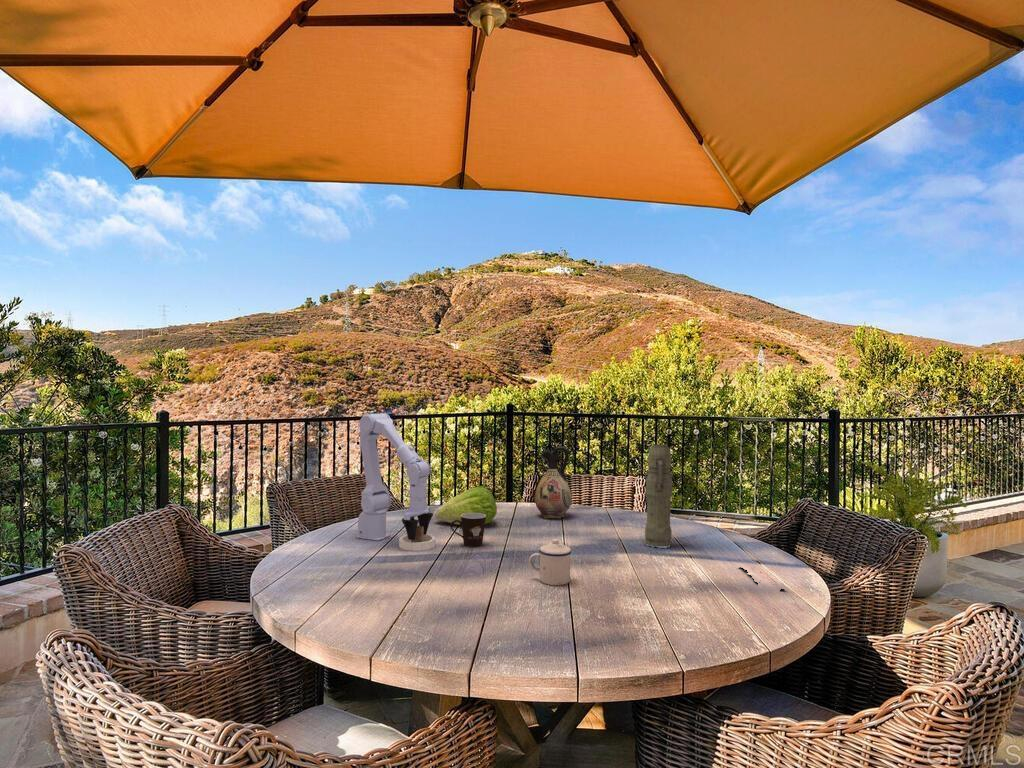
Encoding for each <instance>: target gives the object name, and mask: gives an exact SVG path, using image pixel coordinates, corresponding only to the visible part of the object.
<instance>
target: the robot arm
mask: <svg viewBox="0 0 1024 768" xmlns="http://www.w3.org/2000/svg"><path fill="white" fill-rule="evenodd" d="M358 424H359V432H360V433H359V440H360V441H359V442H360V448H361V449H360V450H361V456H362V457H361V458H362V462H363V463H362V464H363V469H364V470H363V471H364V478H365V485H366V486H365V487H364V489H363V490H362V491H361V501H360V507H361V509H362V512H360V513H359V515H358V519H357V535H356V536H355V537H356V538H358V539H364V540H371V541H381V540H383V539H386V538H388V537H391V536H392V534H391V533H387V512H388V510H389V508H390V506H391V505H392V497H391V495H390V493H389V490H388V487H387V486H385V485H384V484H383V482H382V481H383V480H382V475H381V474H382V473H381V468H380V467H381V466H380V459H379V454H378V453H379V452H378V447H377V446H378V445H377V439H379V437H380V436H381V435H383V436H384V437H385V438H386V439H387V441H389V442H390V444H391V445H392V446H393V447H394V449H395V450H396V457H397V458H398V459H399V461H401V463H402V464H403V466H404V467H405V468H406V470H405V471H406V476H407V478H408V483H409V505H408V506H409V509H408V510H407V511H406V512H405V513H403V517H402V518H401V522H402V524H403V525H404V527H405V531H406V535H407V536H408V539H409V540H415V535H416V528H417V526H424V535H426V534H427V533H428V529H429V525H430V522H431V520H432V518H433V517H434V513H433V512H432V506H431V505H427V500H428V499H427V496H428V494H427V493H428V492H427V491H428V489H427V488H428V485H427V484H428V477H429V476H430V474H431V465H430V463H429V461H427V460H424V459H422V458H421V457H420V455H418V453H417V452H416V451H415V449H414V448H415V447H413V445H412V444H406V443H405V441H404V439H403V438H402V437H401V435H400V434H399V432H398V430H397V429H396V428H395V426H394V421H393V419H392V418H391V417H390V414H388V413H387V412H382V413H365V414H363V415H362V417H361V418H360V420H359V421H358ZM416 517H417V519H416Z"/></svg>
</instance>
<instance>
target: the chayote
mask: <svg viewBox="0 0 1024 768" xmlns="http://www.w3.org/2000/svg"><path fill="white" fill-rule="evenodd" d="M495 499H496V498H495V497H494V496H493V494H492V493H491V491H490V489H488V488H485V487H483V486H482V485H480V486H474V487H472V488H469V489H466V490H464V491H463V492H461V493H459V494H458V495H456V496H454V497H451V498H449V499H448V500H447V501H446V502H445V503H443V504H442V505H441V506H440V507H439V506H438V508H436V509H435V510H434V513H433V515H434V517H435V519H436V521H438V522H446V523H449V524H451V523H452V522H453V521H455V520H459V521H461V515H462V514H466V513H481V514H485V515H486V520H485V525H487V524H490V523H491V522H492V521H493V520H494V518H495V517H496V515H497V512H498V508H497V503H496V500H495ZM453 525H457V526H461V524H460V523H459V522H455V523H453Z"/></svg>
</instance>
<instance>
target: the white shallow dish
mask: <svg viewBox="0 0 1024 768" xmlns="http://www.w3.org/2000/svg"><path fill="white" fill-rule="evenodd" d="M398 547H399V549H401V550H405V551H410V552H415V551H416V552H418V551H419V552H421V551H422V552H423V551H427V550H432V549H433V548H435V547H436V536H434V535H431V534H427V533H426V535H424V542H418V540H412V542H411V540H409V539H408V536H407V534H404V535H402V536H400V537H399V539H398Z"/></svg>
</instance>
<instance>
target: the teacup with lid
mask: <svg viewBox="0 0 1024 768" xmlns="http://www.w3.org/2000/svg"><path fill="white" fill-rule="evenodd" d="M538 551H539V553H538V552H535V553H532V554H531V555H530V557H529V558H528V564H529V566H530V568H531V569H532V570H533V571H536V572H539V580H540V582H542V583H543V584H545V585H549V586H563V585H566V584H569V582H570V581H571V555H572V550H571V548H570V547H569V546H567V545H565V544H563V543H561V542H560V540H559V539H558V538H553V539H552V540H551V542H548V543H547V544H544V545H541V546H540V547H539V550H538ZM534 557H539V567H536V566H535V565H534V564H533V561H532V559H533V558H534Z"/></svg>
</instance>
